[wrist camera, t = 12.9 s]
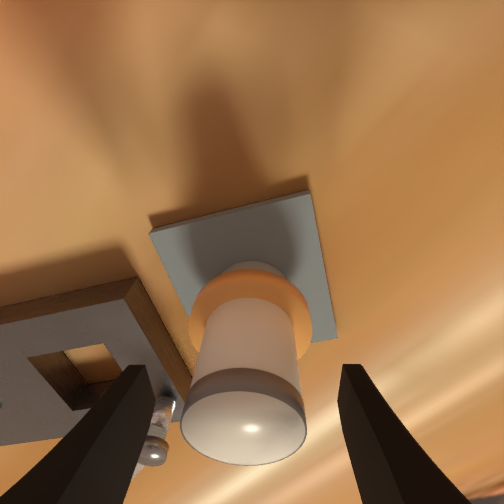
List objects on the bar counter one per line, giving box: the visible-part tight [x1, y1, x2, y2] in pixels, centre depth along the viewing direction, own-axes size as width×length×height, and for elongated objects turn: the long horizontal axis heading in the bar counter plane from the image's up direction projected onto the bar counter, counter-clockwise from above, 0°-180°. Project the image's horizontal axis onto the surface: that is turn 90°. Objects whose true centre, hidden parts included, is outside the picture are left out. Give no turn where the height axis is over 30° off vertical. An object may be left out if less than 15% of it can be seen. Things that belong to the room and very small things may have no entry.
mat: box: [149, 190, 338, 343], centre depth 17 cm, size 9×8×1 cm
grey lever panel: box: [0, 277, 192, 446], centre depth 20 cm, size 10×20×2 cm, turn 105°
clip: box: [131, 396, 175, 480], centre depth 19 cm, size 2×10×3 cm, turn 146°
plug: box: [180, 261, 312, 466], centre depth 13 cm, size 6×6×8 cm
